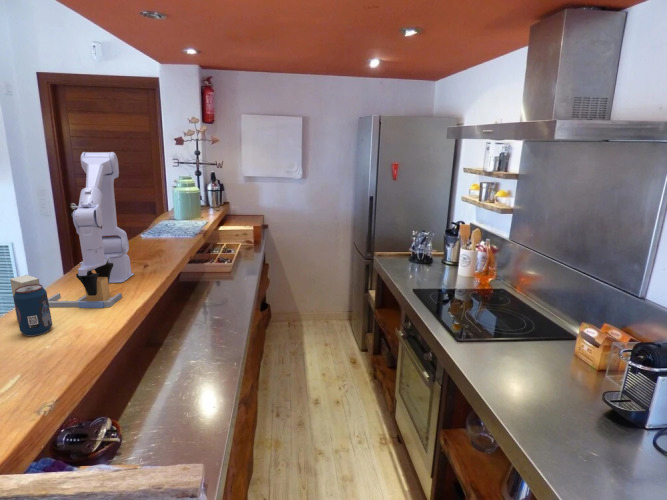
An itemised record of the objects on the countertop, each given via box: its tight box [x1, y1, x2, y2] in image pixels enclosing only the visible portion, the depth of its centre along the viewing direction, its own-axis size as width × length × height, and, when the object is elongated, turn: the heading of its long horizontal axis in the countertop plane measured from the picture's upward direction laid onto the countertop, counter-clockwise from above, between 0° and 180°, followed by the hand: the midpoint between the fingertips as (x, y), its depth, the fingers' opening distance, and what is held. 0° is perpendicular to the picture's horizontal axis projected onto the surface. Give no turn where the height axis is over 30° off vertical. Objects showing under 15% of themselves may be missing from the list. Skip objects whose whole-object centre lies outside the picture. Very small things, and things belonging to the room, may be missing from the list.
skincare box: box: [9, 274, 41, 321], centre depth 113 cm, size 6×4×12 cm
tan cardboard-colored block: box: [84, 277, 111, 301], centre depth 127 cm, size 4×5×7 cm
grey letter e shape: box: [48, 292, 123, 309], centre depth 127 cm, size 8×20×2 cm, turn 92°
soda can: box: [12, 284, 53, 337], centre depth 107 cm, size 7×7×12 cm
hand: (98, 290), depth 127 cm, fingers open, 7 cm apart
